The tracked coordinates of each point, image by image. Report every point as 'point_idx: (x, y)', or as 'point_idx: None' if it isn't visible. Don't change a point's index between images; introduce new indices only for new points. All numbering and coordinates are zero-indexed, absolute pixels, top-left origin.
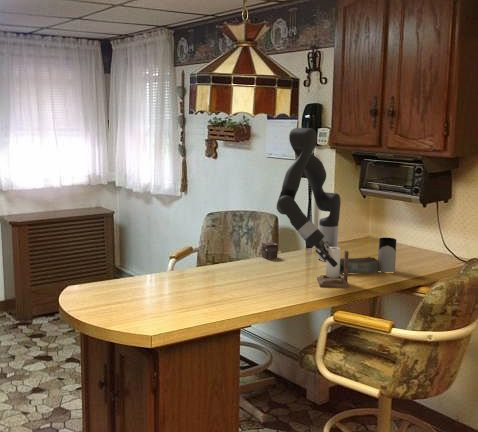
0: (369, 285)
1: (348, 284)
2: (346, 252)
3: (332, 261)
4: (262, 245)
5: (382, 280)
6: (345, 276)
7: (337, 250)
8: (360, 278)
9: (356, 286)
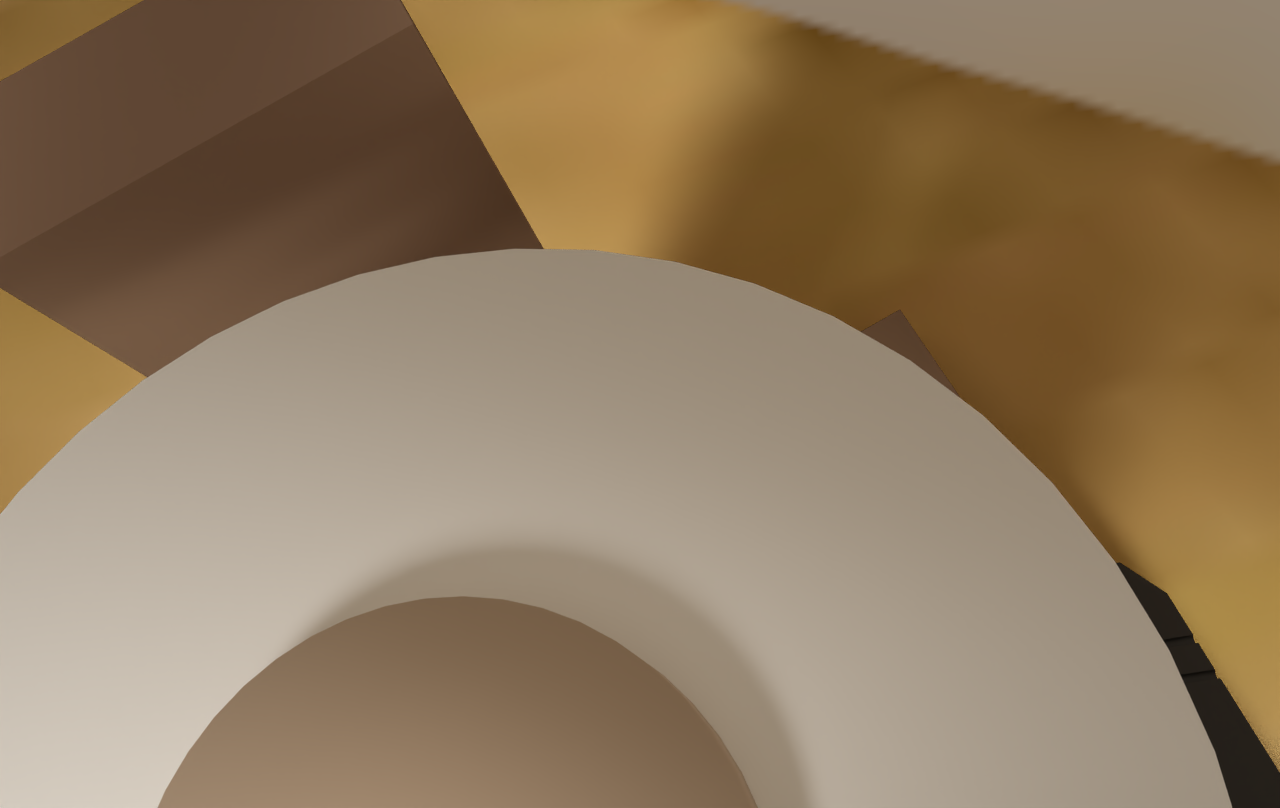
0: (478, 69)
1: (888, 332)
2: (397, 9)
3: (1231, 716)
4: None
5: (14, 20)
6: None
7: (902, 368)
8: (27, 415)
9: (700, 244)
